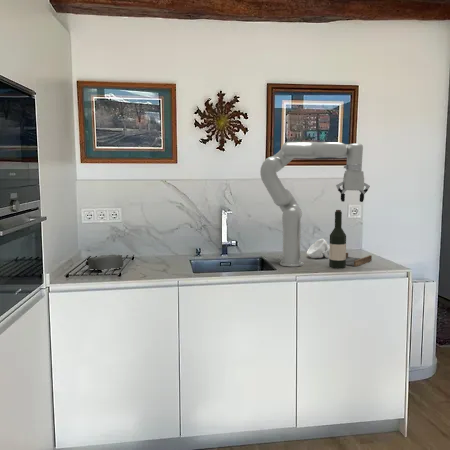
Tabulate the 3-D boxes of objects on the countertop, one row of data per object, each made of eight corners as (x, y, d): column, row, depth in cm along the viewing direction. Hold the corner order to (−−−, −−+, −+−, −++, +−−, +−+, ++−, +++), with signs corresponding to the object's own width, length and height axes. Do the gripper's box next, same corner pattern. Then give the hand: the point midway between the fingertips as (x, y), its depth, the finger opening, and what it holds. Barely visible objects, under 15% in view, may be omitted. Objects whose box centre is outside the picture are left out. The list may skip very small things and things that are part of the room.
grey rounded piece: (117, 265, 244) (116, 251, 243) (127, 268, 235) (126, 254, 234) (85, 270, 232) (84, 256, 231) (94, 274, 223) (94, 259, 222)
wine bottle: (346, 268, 228) (347, 210, 225) (329, 268, 230) (330, 210, 227) (345, 265, 237) (346, 209, 233) (329, 264, 238) (329, 209, 235)
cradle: (329, 263, 243) (330, 257, 242) (346, 257, 258) (346, 252, 257) (355, 266, 233) (355, 261, 233) (371, 260, 248) (371, 255, 247)
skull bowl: (339, 256, 256) (328, 238, 253) (319, 269, 254) (308, 252, 252) (331, 252, 266) (321, 236, 263) (312, 266, 265) (302, 249, 262)
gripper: (339, 167, 222) (337, 201, 224) (373, 168, 223) (371, 202, 225) (335, 167, 230) (333, 200, 232) (367, 168, 231) (365, 201, 233)
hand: (352, 201), depth 229 cm, fingers open, 9 cm apart
